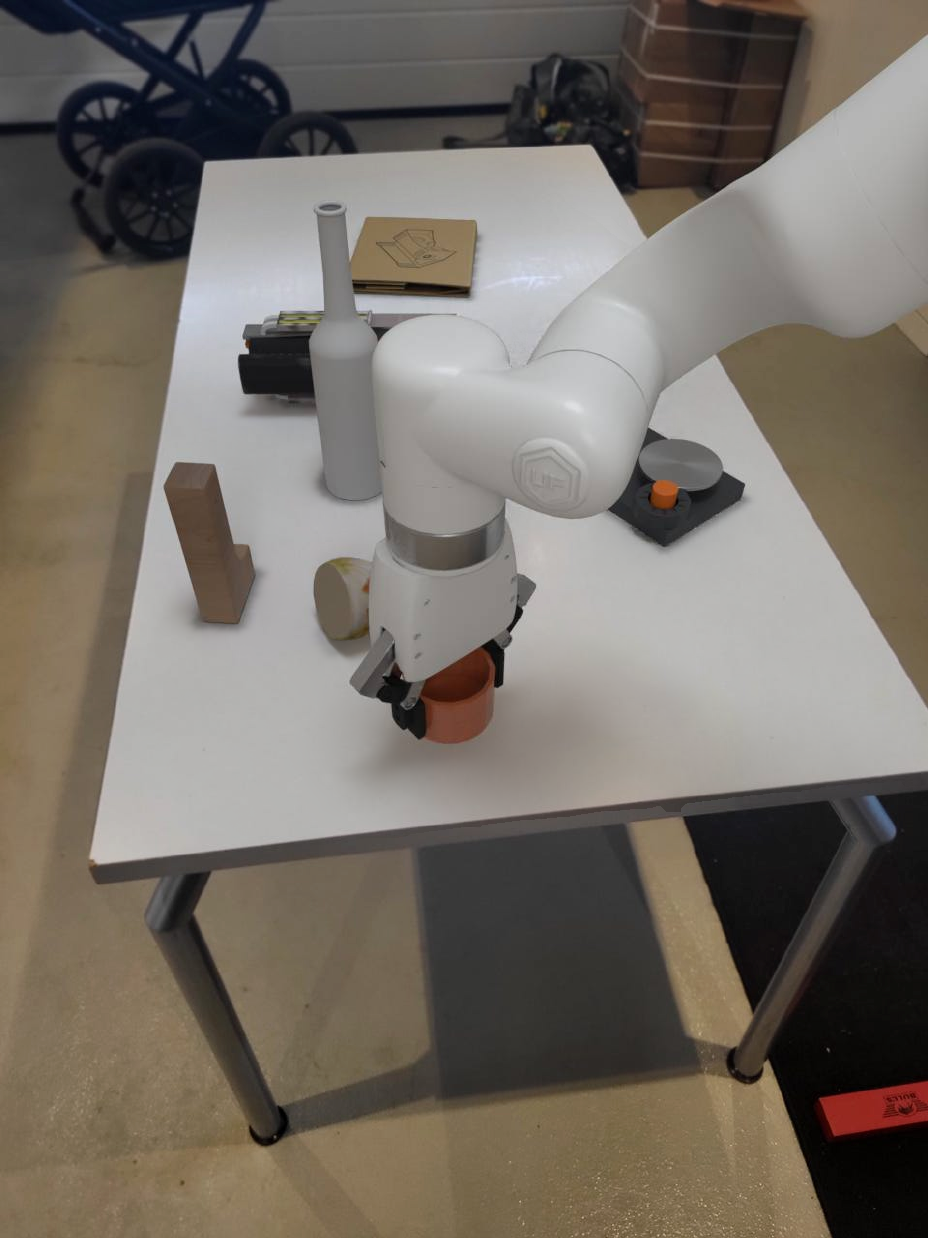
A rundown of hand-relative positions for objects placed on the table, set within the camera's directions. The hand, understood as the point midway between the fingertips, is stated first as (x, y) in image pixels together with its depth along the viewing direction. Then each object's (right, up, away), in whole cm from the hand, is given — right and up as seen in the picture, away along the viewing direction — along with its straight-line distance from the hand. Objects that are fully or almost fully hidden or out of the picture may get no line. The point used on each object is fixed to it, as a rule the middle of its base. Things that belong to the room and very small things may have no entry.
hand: (449, 699), depth 68 cm
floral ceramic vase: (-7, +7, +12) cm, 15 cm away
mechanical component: (-11, +32, +37) cm, 50 cm away
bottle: (-10, +20, +25) cm, 34 cm away
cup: (0, -1, +1) cm, 1 cm away
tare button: (+20, +18, +18) cm, 32 cm away
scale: (+21, +20, +24) cm, 38 cm away
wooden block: (-20, +8, +13) cm, 25 cm away
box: (-6, +58, +62) cm, 85 cm away
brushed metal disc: (+23, +22, +21) cm, 38 cm away
